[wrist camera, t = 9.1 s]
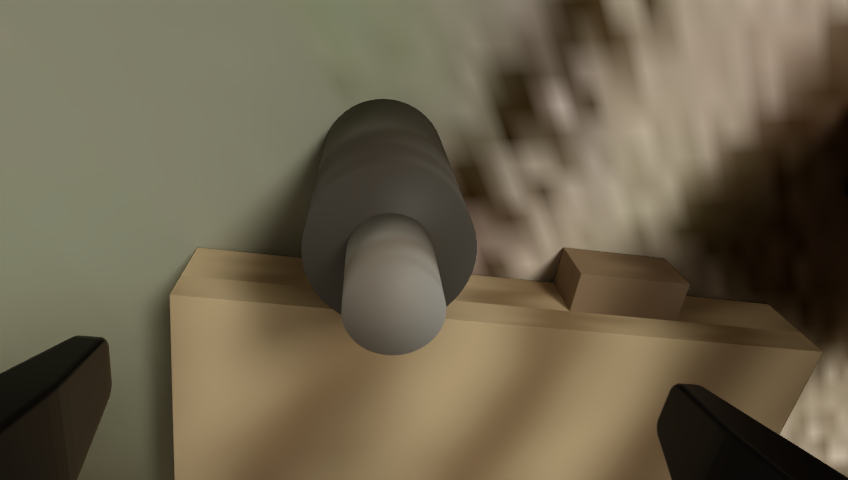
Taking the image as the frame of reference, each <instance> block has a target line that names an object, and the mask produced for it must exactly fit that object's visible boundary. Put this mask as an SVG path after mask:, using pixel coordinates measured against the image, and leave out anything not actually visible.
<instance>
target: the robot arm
mask: <svg viewBox="0 0 848 480" xmlns="http://www.w3.org/2000/svg"><path fill="white" fill-rule="evenodd" d="M846 194H847V196H848V185H847V189H846ZM111 385H112V380H111V368H110V355H109V345H108V343H107V340H105V339H104V338H102V337H92V336H74V337H72V338H70V339H68V340H66V341H64V342H62V343H60V344H58V345H56V346H54V347H52V348H50V349H48V350H46V351H44V352H42V353H40V354H38V355H36V356H34V357H32V358H30V359H28V360H26V361H24V362H22V363H20V364H18V365H16V366H14V367H12V368H10V369H9V370H7V371H5V372H3V373H1V374H0V480H77V478H78V476H79V473H80V471H81V468H82V466H83V463H84V461H85V458H86V455H87V453H88V450H89V448H90V445H91V443H92V440H93V438H94V435H95V433H96V430H97V427H98V425H99V422H100V420H101V417H102V415H103V412H104V410H105V407H106V405H107V402H108V399H109V396H110V392H111ZM657 435H658V439H659V442H660V445H661V448H662V451H663V454H664V458H665V461H666V464H667V467H668V470H669V473H670V476H671V480H848V478H847V477H846V476H844V475H842V474H841V473H839V472H838V471H836V470H834V469H833V468H831V467H830V466H828V465H826V464H825V463H823V462H822V461H820V460H818V459H817V458H815V457H814V456H812V455H811V454H809V453H807V452H806V451H804V450H803V449H801V448H799V447H798V446H796V445H795V444H793V443H791V442H790V441H788V440H787V439H785V438H783V437H782V436H780V435H779V434H777V433H776V432H774V431H772V430H771V429H769V428H768V427H766V426H764V425H763V424H761V423H760V422H758V421H756V420H755V419H753V418H752V417H750V416H748V415H747V414H745V413H744V412H742V411H740V410H739V409H737V408H736V407H734V406H733V405H731V404H729V403H728V402H726V401H725V400H723V399H721V398H720V397H718V396H717V395H715V394H713V393H712V392H710V391H709V390H707V389H705V388H704V387H702V386H700V385H696V384H683V383H678V384H675V385H674V386H673V387H672V388H671V389H670V391H669V394H668V396H667V398H666V401H665V403H664V406H663V408H662V410H661V413H660V415H659V418H658V421H657Z"/></svg>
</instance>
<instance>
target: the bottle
mask: <svg viewBox="0 0 848 480" xmlns="http://www.w3.org/2000/svg"><path fill="white" fill-rule="evenodd" d="M476 253H477V241H476V234H475V230H474V226H473V223H472V220H471V218H470V215H469V212H468V210H467V207H466V205H465V202H464V200H463V197H462V194H461V192H460V189H459V187H458V184H457V181H456V179H455V176H454V174H453V171H452V169H451V166H450V163H449V161H448V158H447V156H446V153H445V150H444V148H443V145H442V143H441V140H440V138H439V135H438V133H437V131H436V129H435V128H434V126H433V124H432V123H431V122H430V121H429V119H428V118H427V117H426V116H425V115H424V114H422V113H421V112H420V111H419V110H417V109H416V108H414V107H412V106H410V105H408V104H406V103H403V102H400V101H396V100H389V99H376V100H370V101H366V102H363V103H360V104H358V105H356V106H354V107H352V108H350V109H349V110H347V111H346V112H344V113H343V114H342V115H341V116H340V117H339V118H338V119H337V120H336V121H335V123H334V124H333V126H332V127H331V129H330V131H329V133H328V135H327V137H326V141H325V144H324V148H323V152H322V156H321V161H320V165H319V169H318V173H317V177H316V181H315V186H314V190H313V194H312V198H311V202H310V207H309V211H308V215H307V219H306V223H305V228H304V232H303V237H302V244H301V256H302V262H303V267H304V270H305V274H306V276H307V278H308V281H309V283H310V285H311V286H312V288H313V289H314V291H315V292H316V294H317V295H318V296H319V297H320V298H321V299H322V301H323V302H325V303H326V304H327V305H328V306H329V307H330V308H332V309H333V310H334V311H336V312H337V313H339V314H341V315H342V321H343V325H344V327H345V329H346V331H347V333H348V334H349V336H350V337H351V338H352V339H353V340H354V341H355V342H356V343H357V344H358V345H360V346H361V347H363V348H365V349H366V350H368V351H371V352H374V353H377V354H382V355H403V354H408V353H411V352H414V351H416V350H418V349H420V348H422V347H424V346H426V345H427V344H428V343H430V342H431V341H432V340H433V339H434V338H435V337H436V336H437V334H438V333H439V332H440V330H441V328H442V326H443V324H444V321H445V317H446V307H447V306H448V305H449V304H450V303H451V302H452V301H453V300H455V299H456V298H457V296H458V295H459V294H460V293H461V291H462V290H463V289H464V287H465V285H466V284H467V282H468V280H469V278H470V276H471V274H472V271H473V268H474V264H475V260H476Z"/></svg>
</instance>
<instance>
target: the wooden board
mask: <svg viewBox="0 0 848 480" xmlns="http://www.w3.org/2000/svg"><path fill="white" fill-rule="evenodd" d="M689 287H690V284H689V283H688V282H687V281H686V280H685V279H684V278H683V277H682V276H681V275H680V274H679V273H678V272H677V271H676V270H675V269H674V268H673V267H672V266H671V265H670V264H669V263H668V262H667V261H666V260H665V259H664V258H655V257H646V256H637V255H628V254H618V253H609V252H600V251H591V250H581V249H572V248H564V249H563V252H562V256H561V259H560V263H559V266H558V270H557V273H556V277H555V280H554V283H550V282H540V281H530V280H520V279H510V278H500V277H489V276H479V275H471V276H470V278H469V280H468V282H467V284H466V285H465V287H464V289H463V290H462V291H461V293H460V294H459V295H458V296H457V298H456V299H455V300H453V301H452V302H451V303H450V304H449V305H448V306H447V307H446V317H445V321H444V324H443V326H442V328H441V330H440V332H439V333H438V334H437V336H436V337H435V338H434V339H433V340H432V341H431V342H430V343H428V344H427V345H426V346H424V347H422V348H420V349H418V350H416V351H414V352H411V353H408V354H403V355H382V354H377V353H374V352H371V351H368V350H366V349H365V348H363V347H361V346H360V345H358V344H357V343H356V342H355V341H354V340H353V339H352V338H351V337H350V336H349V334H348V333H347V331H346V329H345V327H344V325H343V321H342V315H341V314H339V313H337V312H336V311H334V310H333V309H332V308H330V307H329V306H328V305H327V304H326V303H325V302H323V301H322V299H321V298H320V297H319V296H318V295H317V294H316V292H315V291H314V289H313V288H312V286H311V285H310V283H309V281H308V278H307V276H306V274H305V270H304V267H303V262H302V258H298V257H288V256H278V255H267V254H257V253H247V252H237V251H227V250H217V249H207V248H197V249H196V251H195V253H194V254H193V256H192V258H191V259H190V261H189V263H188V265H187V266H186V268H185V270H184V271H183V273H182V275H181V276H180V278H179V280H178V282H177V283H176V285H175V287H174V288H173V290H172V292H171V293H170V324H171V361H172V399H173V436H174V474H175V480H671V476H670V473H669V470H668V467H667V464H666V461H665V458H664V454H663V451H662V448H661V445H660V442H659V439H658V435H657V421H658V418H659V415H660V413H661V410H662V408H663V406H664V403H665V401H666V398H667V396H668V394H669V391H670V389H671V388H672V387H673V386H674V385H675V384H678V383H683V384H696V385H700V386H702V387H704V388H705V389H707V390H709V391H710V392H712V393H713V394H715V395H717V396H718V397H720V398H721V399H723V400H725V401H726V402H728V403H729V404H731V405H733V406H734V407H736V408H737V409H739V410H740V411H742V412H744V413H745V414H747V415H748V416H750V417H752V418H753V419H755V420H756V421H758V422H760V423H761V424H763V425H764V426H766V427H768V428H769V429H771V430H772V431H774V432H776V433H777V434H780V432H781V431H782V429H783V427H784V425H785V423H786V421H787V419H788V417H789V415H790V414H791V412H792V410H793V408H794V406H795V404H796V402H797V400H798V399H799V397H800V395H801V393H802V391H803V389H804V387H805V385H806V383H807V382H808V380H809V378H810V376H811V374H812V372H813V370H814V368H815V366H816V365H817V363H818V361H819V359H820V357H821V355H822V353H823V352H822V351H821V350H820V349H819V348H818V347H817V346H816V345H814V344H813V343H812V342H811V341H810V340H809V339H808V338H806V337H805V336H804V335H803V334H802V333H801V332H800V331H798V330H797V329H796V328H795V327H794V326H793V325H791V324H790V323H789V322H788V321H787V320H786V319H785V318H783V317H782V316H781V315H780V314H779V313H778V312H777V311H775V310H774V309H773V308H772V307H771V306H770V305H769V304H762V303H752V302H742V301H732V300H722V299H711V298H701V297H691V296H686V294H687V292H688V289H689Z"/></svg>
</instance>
